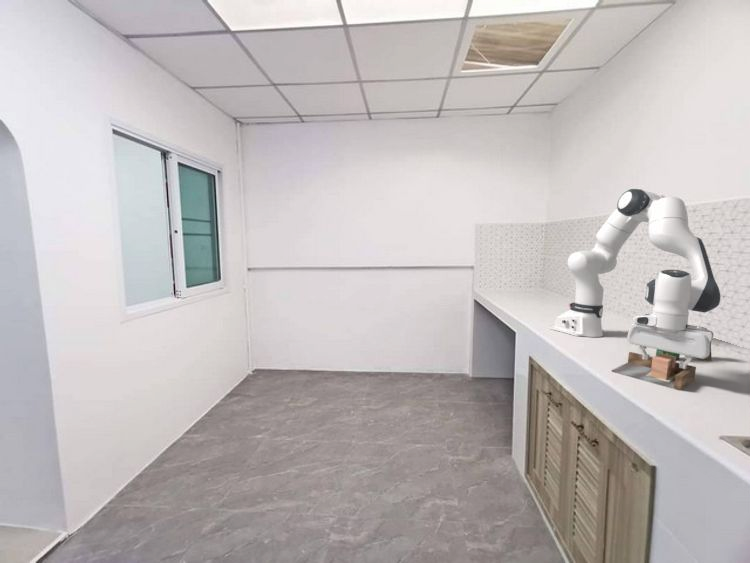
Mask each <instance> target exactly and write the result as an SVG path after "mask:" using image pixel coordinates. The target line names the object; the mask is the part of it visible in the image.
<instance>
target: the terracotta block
mask: <svg viewBox="0 0 750 563" xmlns="http://www.w3.org/2000/svg"><path fill="white" fill-rule="evenodd" d="M652 357H653V358H652V366H651V375H650V376H653V377H657V378H660V379H664V380H667V379H668V378H670V377H671V376H673V375H674V371H675V363H676V361H677V359H676V357H675V356H671V355H666V354H662V353H660V354H659V355H657V356H656V355H655V356H652Z"/></svg>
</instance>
